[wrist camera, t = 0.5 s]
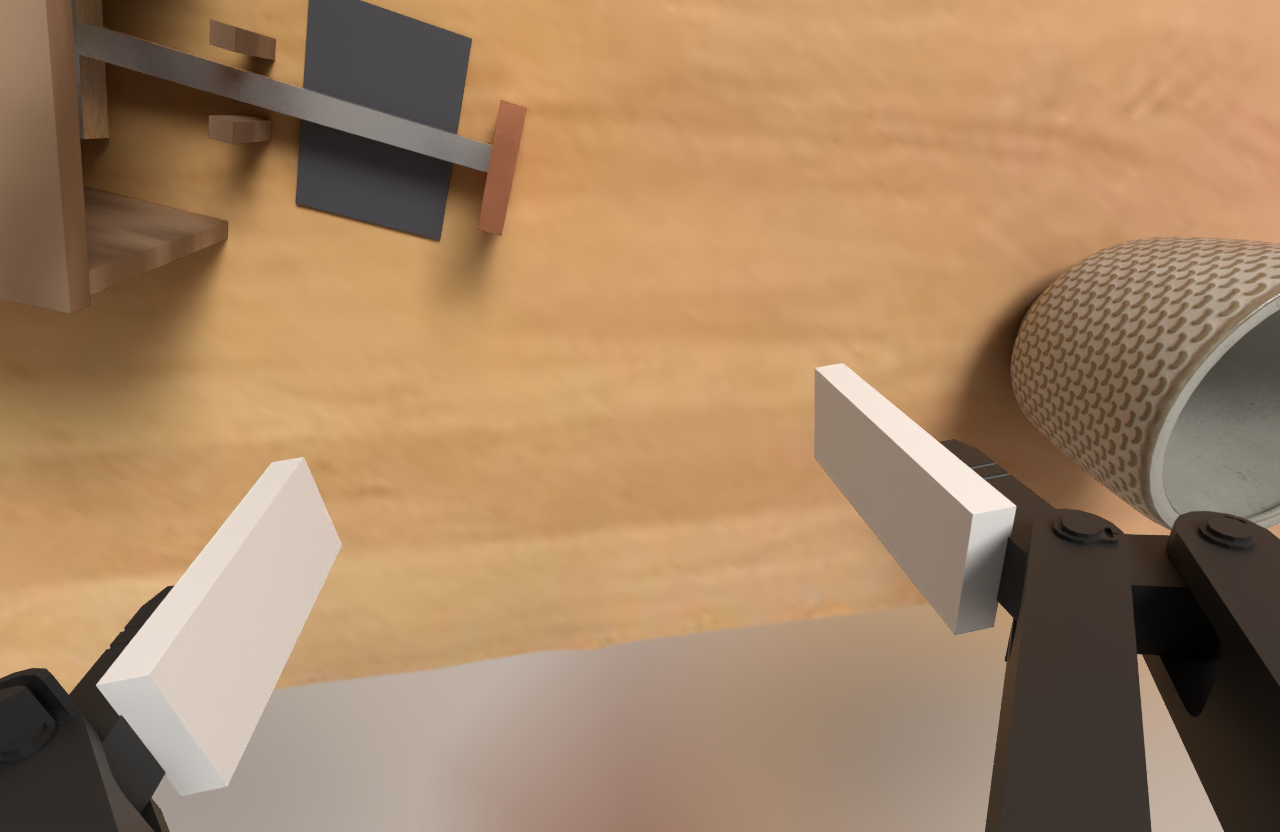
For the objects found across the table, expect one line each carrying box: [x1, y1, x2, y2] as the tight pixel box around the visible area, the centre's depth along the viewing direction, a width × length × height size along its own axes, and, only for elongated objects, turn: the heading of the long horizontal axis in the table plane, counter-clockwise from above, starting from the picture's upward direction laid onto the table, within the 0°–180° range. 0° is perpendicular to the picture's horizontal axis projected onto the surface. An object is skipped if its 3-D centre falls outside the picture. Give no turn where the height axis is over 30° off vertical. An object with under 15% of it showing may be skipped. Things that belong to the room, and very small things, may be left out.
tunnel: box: [0, 0, 276, 314], centre depth 24 cm, size 14×17×15 cm
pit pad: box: [296, 0, 472, 240], centre depth 34 cm, size 8×11×1 cm
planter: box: [1011, 237, 1280, 530], centre depth 41 cm, size 17×17×16 cm
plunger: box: [71, 0, 527, 236], centre depth 30 cm, size 21×9×7 cm, turn 73°
